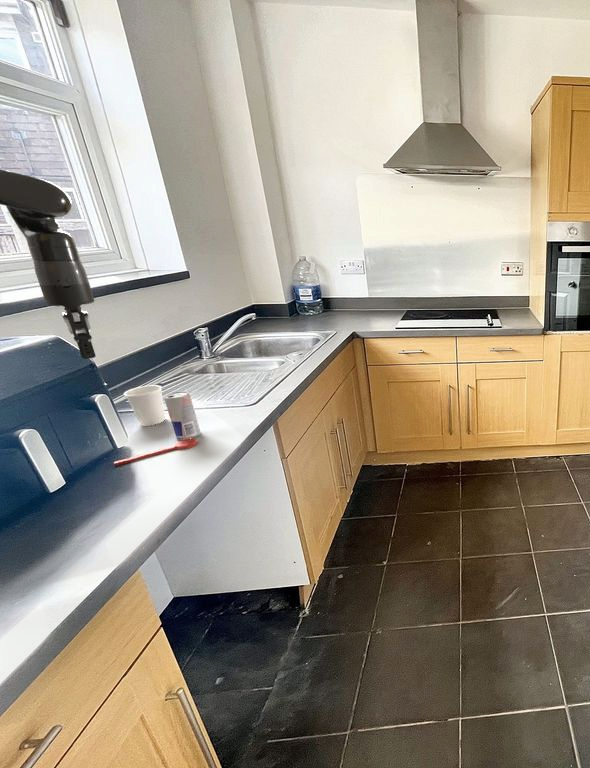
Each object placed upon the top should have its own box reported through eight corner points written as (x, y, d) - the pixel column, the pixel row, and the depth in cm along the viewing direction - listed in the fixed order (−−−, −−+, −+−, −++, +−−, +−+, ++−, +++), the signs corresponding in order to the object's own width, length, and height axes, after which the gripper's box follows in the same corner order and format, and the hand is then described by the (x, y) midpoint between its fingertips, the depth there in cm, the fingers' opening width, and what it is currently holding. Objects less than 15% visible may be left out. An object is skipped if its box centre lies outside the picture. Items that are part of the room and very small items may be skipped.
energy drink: (178, 433, 114) (166, 393, 110) (202, 429, 116) (191, 389, 112) (174, 442, 109) (161, 399, 105) (199, 437, 112) (187, 396, 107)
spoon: (115, 468, 97) (114, 465, 96) (114, 462, 100) (112, 458, 99) (198, 445, 108) (197, 442, 107) (194, 439, 110) (193, 436, 110)
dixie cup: (176, 420, 122) (166, 388, 119) (140, 430, 116) (129, 397, 112) (164, 413, 126) (155, 383, 123) (130, 423, 120) (118, 391, 117)
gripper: (39, 280, 92) (63, 351, 97) (38, 285, 83) (65, 363, 88) (86, 279, 97) (107, 346, 102) (90, 283, 88) (113, 357, 93)
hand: (87, 354), depth 95 cm, fingers open, 8 cm apart
